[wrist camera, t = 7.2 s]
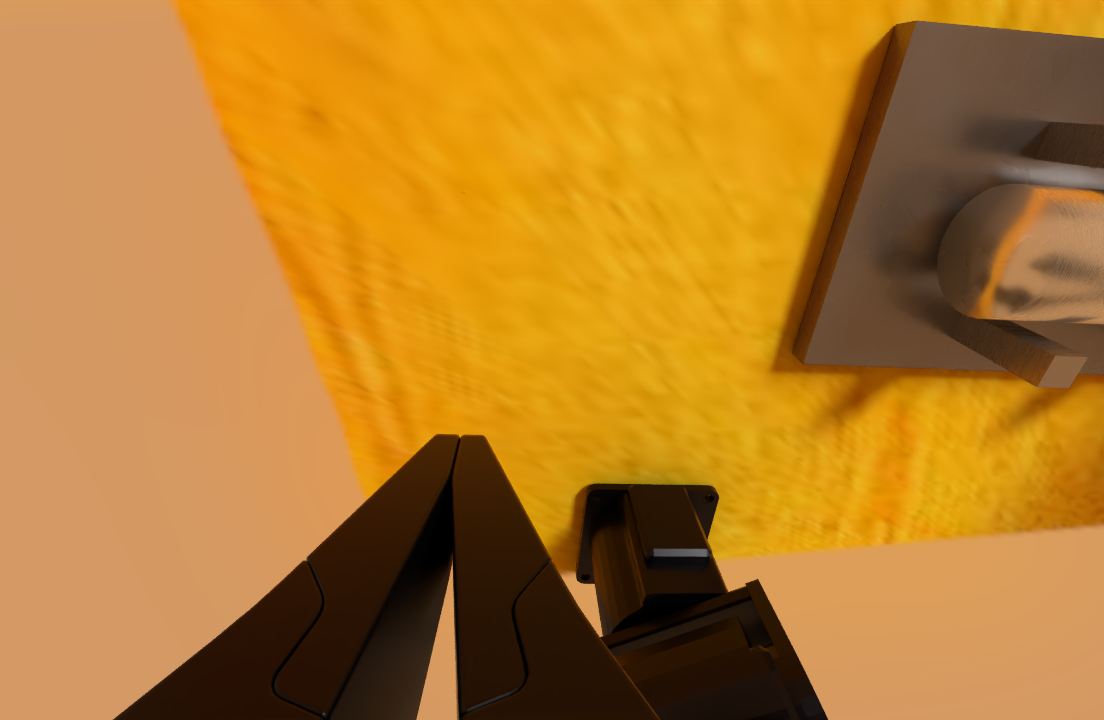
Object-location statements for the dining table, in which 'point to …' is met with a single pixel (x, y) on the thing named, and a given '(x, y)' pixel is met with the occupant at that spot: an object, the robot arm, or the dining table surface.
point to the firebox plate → (955, 198)
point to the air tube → (1027, 255)
